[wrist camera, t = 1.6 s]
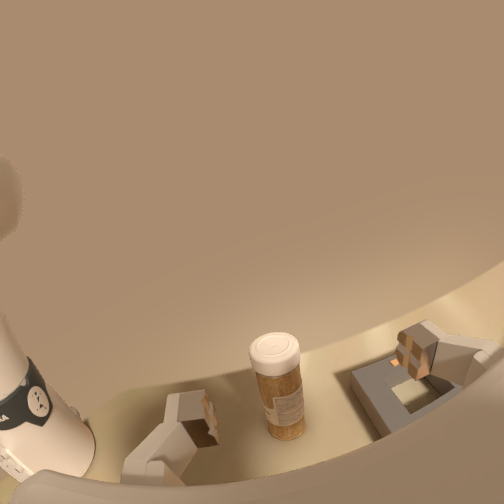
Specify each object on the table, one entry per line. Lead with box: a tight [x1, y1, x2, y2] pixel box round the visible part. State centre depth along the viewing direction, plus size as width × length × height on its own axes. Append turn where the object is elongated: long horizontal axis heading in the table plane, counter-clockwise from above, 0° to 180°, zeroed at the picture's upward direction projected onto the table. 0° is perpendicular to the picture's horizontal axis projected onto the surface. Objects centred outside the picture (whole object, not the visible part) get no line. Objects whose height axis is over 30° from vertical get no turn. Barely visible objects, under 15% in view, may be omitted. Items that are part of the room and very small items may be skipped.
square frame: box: [350, 354, 462, 438], centre depth 25 cm, size 13×13×3 cm
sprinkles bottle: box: [249, 332, 306, 440], centre depth 25 cm, size 5×5×14 cm
